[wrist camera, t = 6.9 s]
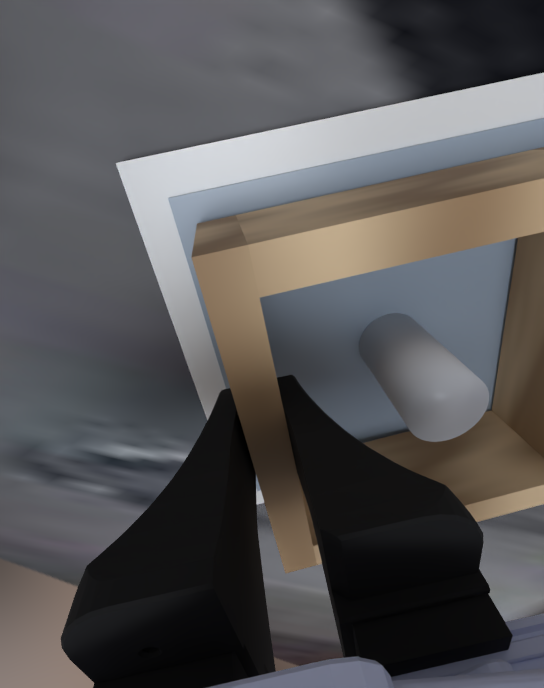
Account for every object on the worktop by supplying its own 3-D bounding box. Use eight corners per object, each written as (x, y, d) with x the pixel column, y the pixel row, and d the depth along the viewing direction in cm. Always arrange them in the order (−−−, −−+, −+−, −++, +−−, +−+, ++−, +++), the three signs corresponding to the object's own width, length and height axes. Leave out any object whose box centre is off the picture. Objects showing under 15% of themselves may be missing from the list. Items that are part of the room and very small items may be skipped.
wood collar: (566, 142, 11) (723, 137, 8) (512, 423, 17) (588, 491, 14) (197, 223, 11) (191, 257, 7) (269, 485, 17) (285, 573, 13)
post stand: (609, 59, 12) (879, -4, 7) (528, 427, 19) (628, 518, 15) (124, 162, 11) (51, 171, 7) (238, 492, 19) (242, 606, 14)
